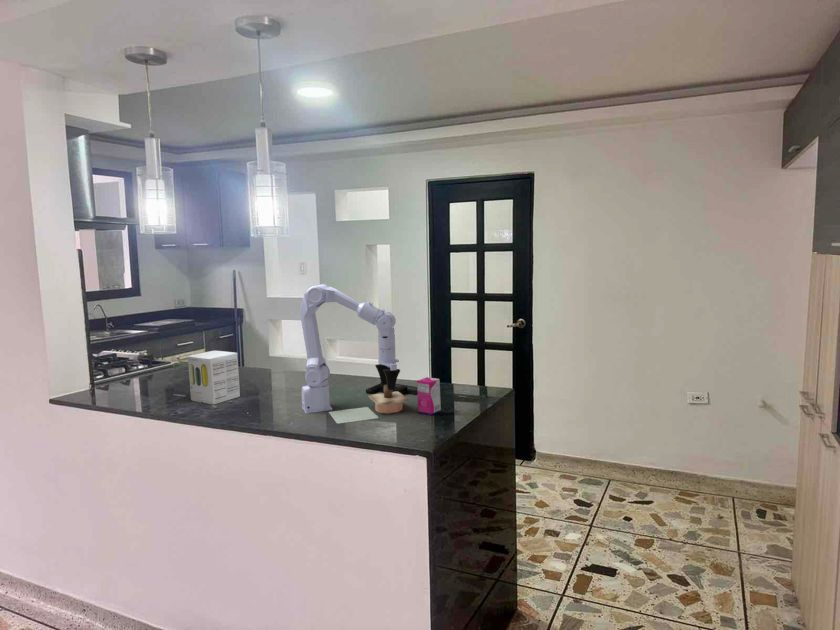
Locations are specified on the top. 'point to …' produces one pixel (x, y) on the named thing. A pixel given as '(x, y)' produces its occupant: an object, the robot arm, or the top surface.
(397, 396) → the lid
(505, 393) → the top surface
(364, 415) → the mat
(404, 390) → the door handle
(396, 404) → the bowl
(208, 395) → the supplement box
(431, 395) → the supplement box
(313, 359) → the robot arm
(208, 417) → the top surface
